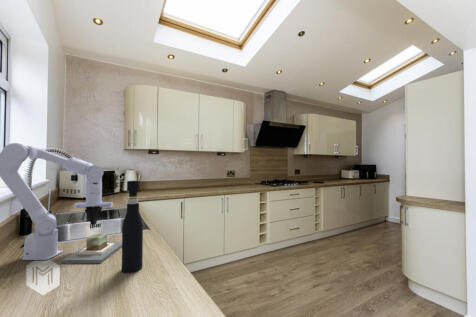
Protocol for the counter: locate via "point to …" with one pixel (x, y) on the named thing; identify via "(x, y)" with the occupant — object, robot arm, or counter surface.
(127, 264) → the wine bottle
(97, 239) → the block stack
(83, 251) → the pocket board
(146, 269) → the counter surface
